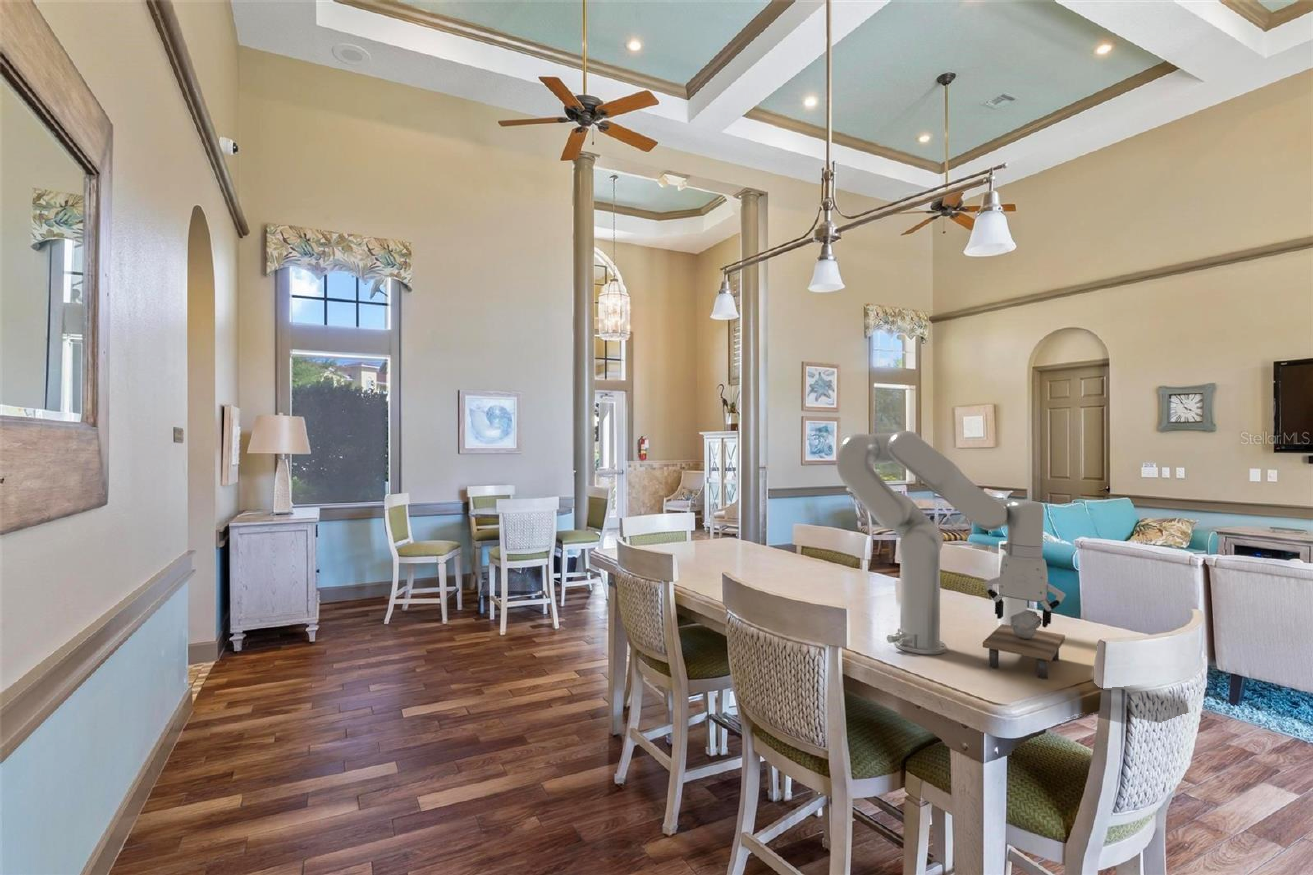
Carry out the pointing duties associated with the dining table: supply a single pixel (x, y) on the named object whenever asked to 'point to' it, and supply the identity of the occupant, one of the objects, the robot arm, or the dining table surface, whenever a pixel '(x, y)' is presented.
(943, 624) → the dining table surface
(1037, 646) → the walnut shelf
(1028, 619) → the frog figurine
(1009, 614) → the cylindrical container
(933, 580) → the robot arm
